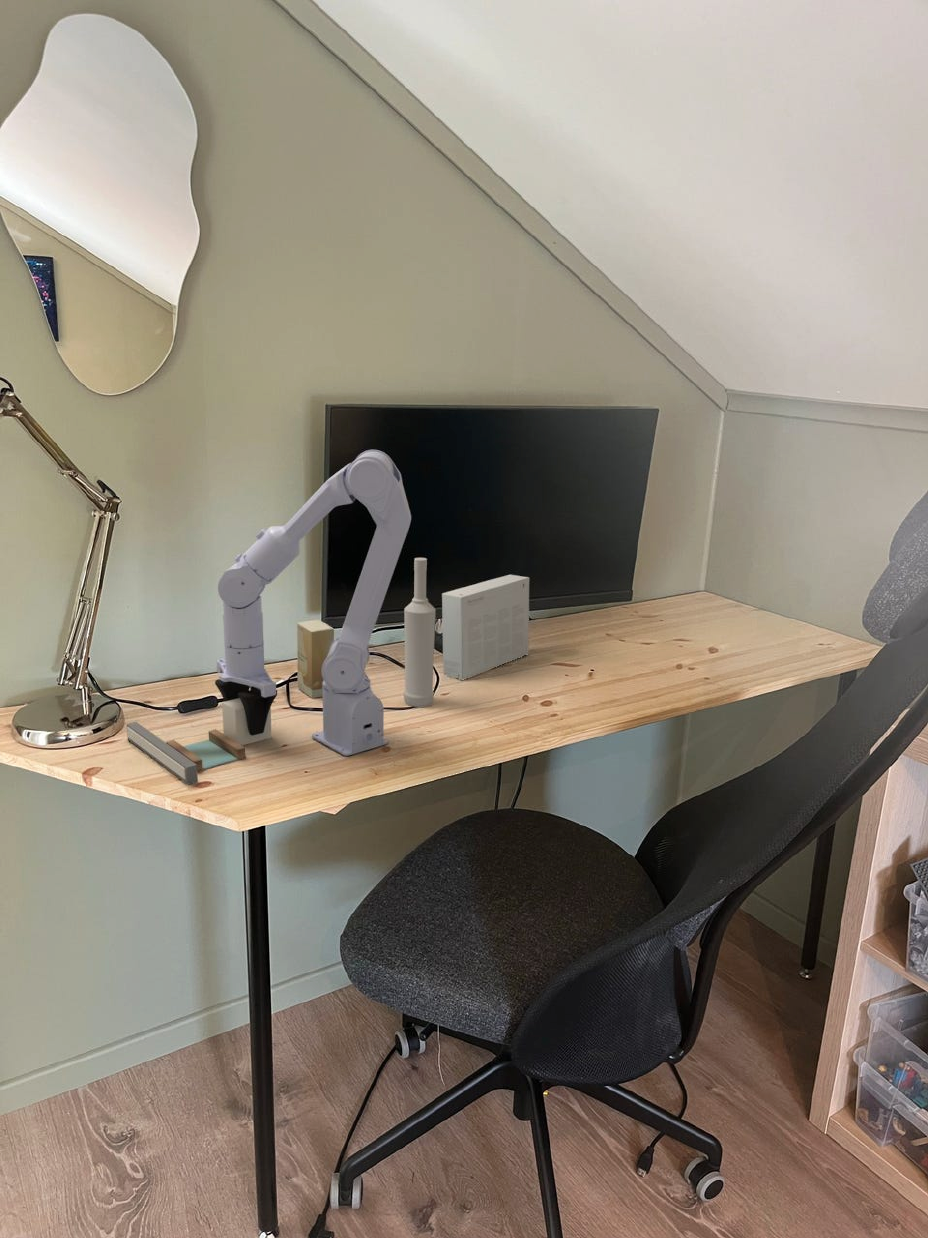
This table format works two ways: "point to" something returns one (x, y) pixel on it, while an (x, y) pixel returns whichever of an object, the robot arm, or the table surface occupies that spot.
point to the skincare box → (312, 655)
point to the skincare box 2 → (485, 625)
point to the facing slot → (211, 751)
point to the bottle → (419, 642)
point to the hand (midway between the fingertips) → (247, 728)
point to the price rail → (162, 753)
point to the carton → (241, 723)
